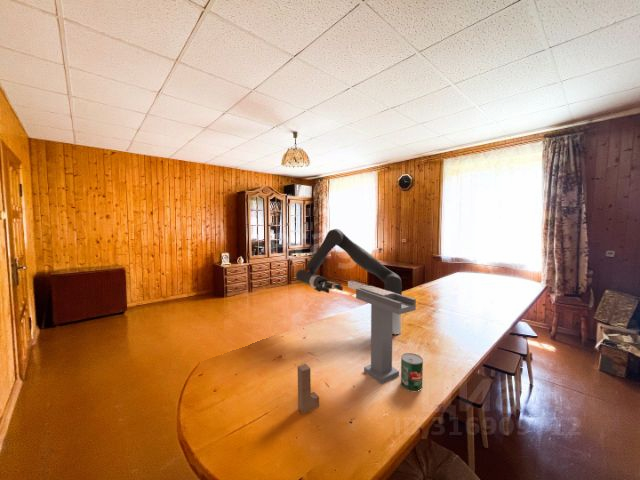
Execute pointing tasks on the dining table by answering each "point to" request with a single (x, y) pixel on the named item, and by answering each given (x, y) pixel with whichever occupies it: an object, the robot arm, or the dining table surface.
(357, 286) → the block
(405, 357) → the canned tomato
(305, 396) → the l-shaped bracket
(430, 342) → the dining table surface
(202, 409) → the dining table surface
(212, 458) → the dining table surface
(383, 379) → the stand
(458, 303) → the dining table surface
